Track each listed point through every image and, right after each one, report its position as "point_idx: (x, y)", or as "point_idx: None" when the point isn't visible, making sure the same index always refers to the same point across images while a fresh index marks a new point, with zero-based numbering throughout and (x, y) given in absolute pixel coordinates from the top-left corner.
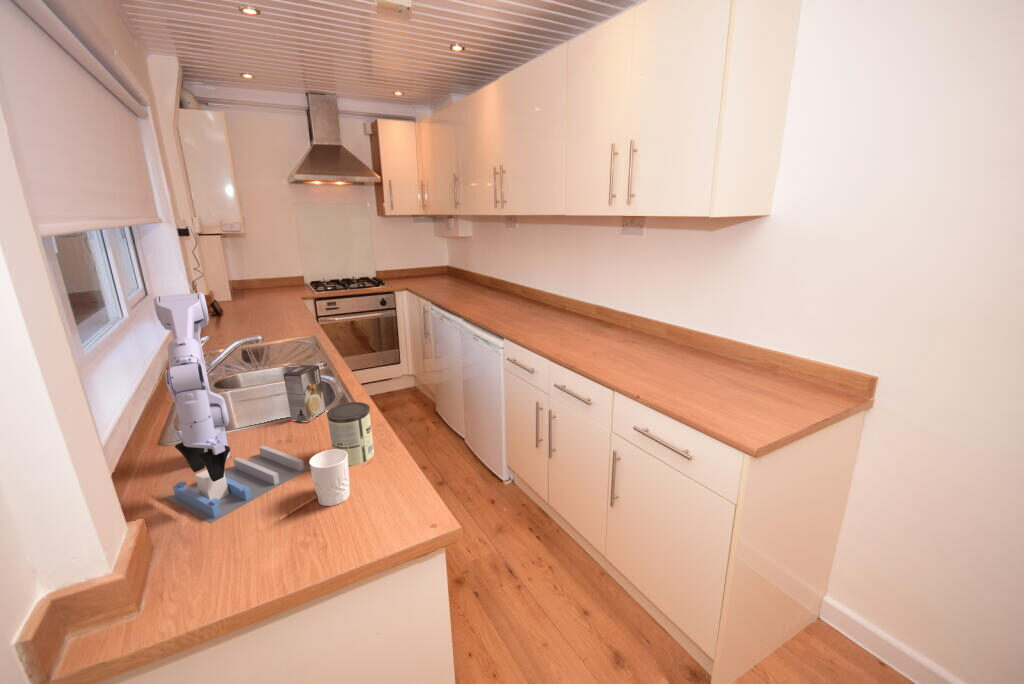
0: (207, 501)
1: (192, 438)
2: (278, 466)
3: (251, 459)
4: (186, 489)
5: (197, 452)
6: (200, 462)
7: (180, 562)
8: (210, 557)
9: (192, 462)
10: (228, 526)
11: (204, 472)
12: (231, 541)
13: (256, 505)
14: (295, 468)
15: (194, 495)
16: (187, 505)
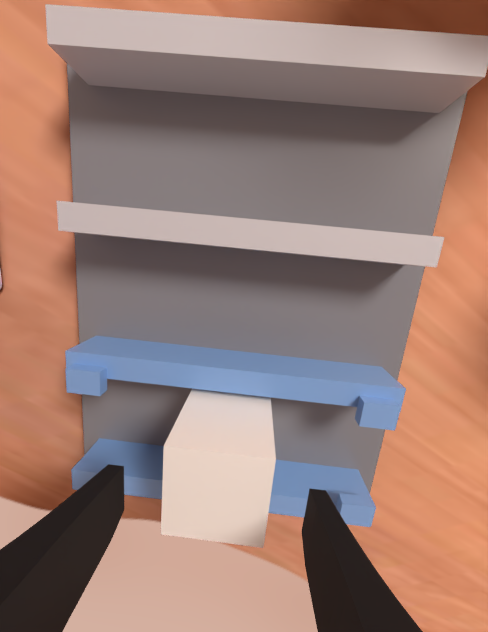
0: None
1: None
2: (281, 128)
3: (82, 139)
4: (145, 484)
5: (25, 625)
6: (97, 521)
7: (410, 593)
8: (474, 564)
9: (81, 583)
10: (409, 473)
11: (183, 505)
12: (479, 511)
13: (408, 369)
14: (403, 106)
15: None
16: None
